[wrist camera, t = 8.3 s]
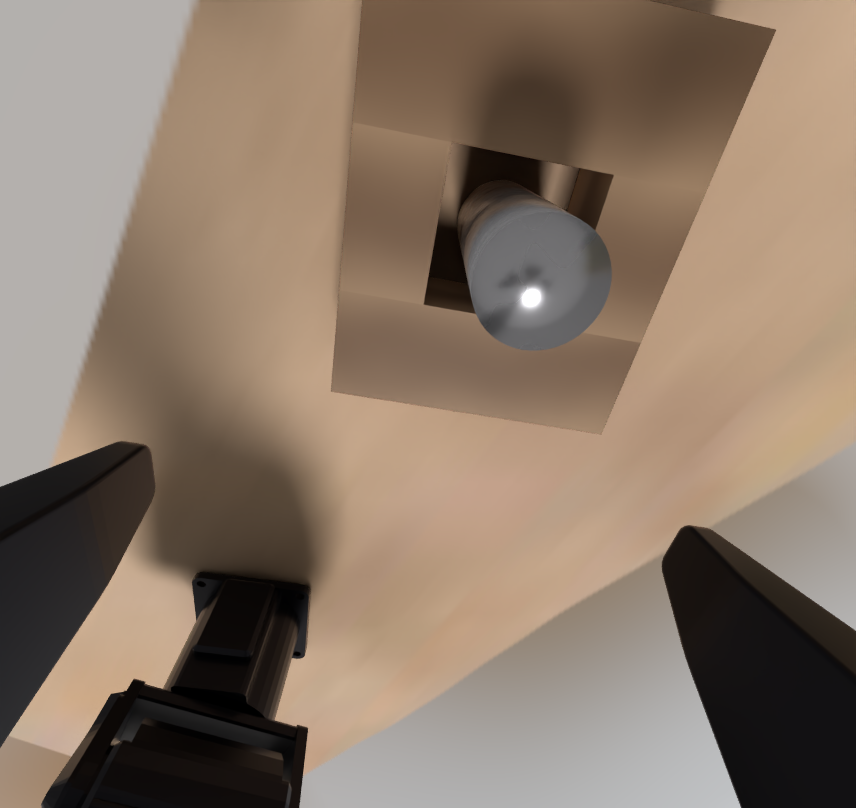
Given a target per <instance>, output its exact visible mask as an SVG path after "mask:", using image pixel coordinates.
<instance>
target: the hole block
mask: <svg viewBox="0 0 856 808" xmlns="http://www.w3.org/2000/svg"><path fill="white" fill-rule="evenodd" d="M775 31H776V30H775V29H770V28H766V27H762V26H757V25H753V24H749V23H744V22H740V21H736V20H731V19H727V18H723V17H718V16H714V15H710V14H705V13H701V12H697V11H692V10H688V9H684V8H679V7H675V6H671V5H666V4H662V3H658V2H653V1H649V0H362V11H361V23H360V36H359V48H358V61H357V73H356V85H355V98H354V110H353V123H352V135H351V148H350V160H349V172H348V185H347V197H346V210H345V222H344V234H343V247H342V259H341V272H340V284H339V297H338V309H337V321H336V334H335V346H334V359H333V371H332V384H331V392H337V393H343V394H349V395H355V396H362V397H368V398H374V399H381V400H387V401H393V402H399V403H406V404H412V405H418V406H424V407H431V408H437V409H443V410H450V411H456V412H462V413H468V414H475V415H481V416H487V417H494V418H500V419H506V420H512V421H519V422H525V423H531V424H537V425H544V426H550V427H556V428H563V429H569V430H575V431H581V432H588V433H594V434H600V435H601V434H602V432H603V429H604V427H605V425H606V422H607V420H608V418H609V415H610V413H611V411H612V408H613V406H614V404H615V402H616V399H617V397H618V395H619V392H620V390H621V388H622V385H623V383H624V381H625V378H626V376H627V374H628V371H629V369H630V367H631V365H632V362H633V360H634V358H635V355H636V353H637V351H638V348H639V346H640V344H641V341H642V339H643V337H644V334H645V332H646V330H647V327H648V325H649V323H650V321H651V318H652V316H653V314H654V311H655V309H656V307H657V304H658V302H659V300H660V297H661V295H662V293H663V290H664V288H665V286H666V284H667V281H668V279H669V277H670V274H671V272H672V270H673V267H674V265H675V263H676V260H677V258H678V256H679V253H680V251H681V249H682V247H683V244H684V242H685V240H686V237H687V235H688V233H689V230H690V228H691V226H692V223H693V221H694V219H695V216H696V214H697V212H698V210H699V207H700V205H701V203H702V200H703V198H704V196H705V193H706V191H707V189H708V186H709V184H710V182H711V179H712V177H713V175H714V172H715V170H716V168H717V166H718V163H719V161H720V159H721V156H722V154H723V152H724V149H725V147H726V145H727V142H728V140H729V138H730V135H731V133H732V131H733V129H734V126H735V124H736V122H737V119H738V117H739V115H740V112H741V110H742V108H743V105H744V103H745V101H746V98H747V96H748V94H749V92H750V89H751V87H752V85H753V82H754V80H755V78H756V75H757V73H758V71H759V68H760V66H761V64H762V61H763V59H764V57H765V55H766V52H767V50H768V48H769V45H770V43H771V41H772V38H773V36H774V34H775ZM452 142H453V143H458V144H463V145H468V146H473V147H478V148H483V149H488V150H493V151H498V152H503V153H508V154H513V155H518V156H523V157H528V158H532V159H537V160H542V161H547V162H552V163H557V164H562V165H567V166H572V167H577V168H580V171H579V174H578V177H577V181H576V184H575V187H574V191H573V194H572V197H571V201H570V204H569V207H568V210H567V212H568V213H570V214H572V215H573V216H575V217H577V218H579V219H580V220H582V221H584V222H585V223H587V224H588V225H589V226H590V227H592V228H593V229H594V230H595V231H596V232H597V234H598V235H599V236H600V237H601V239H602V240H603V242H604V244H605V246H606V248H607V250H608V253H609V256H610V261H611V268H612V280H611V286H610V291H609V294H608V298H607V300H606V302H605V305H604V307H603V309H602V310H601V312H600V314H599V315H598V317H597V318H596V319H595V320H594V322H593V323H592V324H591V325H590V326H589V327H588V328H587V329H586V330H585V331H584V332H583V333H581V334H580V335H579V336H577V337H576V338H574V339H573V340H571V341H569V342H567V343H565V344H563V345H560V346H558V347H555V348H551V349H546V350H539V351H529V350H521V349H516V348H513V347H510V346H508V345H505V344H503V343H502V342H500V341H498V340H497V339H495V338H494V337H493V336H491V335H490V334H489V333H488V332H487V331H486V329H485V328H484V327H483V326H482V324H481V323H480V321H479V319H478V317H477V315H476V313H475V310H474V307H473V303H472V299H471V294H470V289H469V285H468V284H466V283H460V282H455V281H449V280H443V279H438V278H432V277H428V275H429V270H430V264H431V258H432V253H433V247H434V241H435V235H436V230H437V224H438V218H439V213H440V207H441V201H442V195H443V190H444V184H445V178H446V172H447V167H448V161H449V155H450V150H451V144H452Z"/></svg>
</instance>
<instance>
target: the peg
mask: <svg viewBox="0 0 856 808" xmlns="http://www.w3.org/2000/svg"><path fill="white" fill-rule="evenodd" d="M457 233H458V238H459V243H460V248H461V252H462V257H463V262H464V266H465V271H466V275H467V280H468V285H469V289H470V294H471V299H472V303H473V307H474V310H475V313H476V315H477V317H478V319H479V321H480V323H481V324H482V326H483V327H484V328H485V329H486V331H487V332H488V333H489V334H490V335H491V336H493V337H494V338H495V339H497V340H498V341H500V342H502V343H503V344H505V345H508V346H510V347H513V348H516V349H521V350H529V351H539V350H546V349H551V348H555V347H558V346H560V345H563V344H565V343H567V342H569V341H571V340H573V339H574V338H576V337H577V336H579V335H580V334H581V333H583V332H584V331H585V330H586V329H587V328H588V327H589V326H590V325H591V324H592V323H593V322H594V320H595V319H596V318H597V317H598V315H599V314H600V312H601V310H602V309H603V307H604V305H605V302H606V300H607V298H608V294H609V291H610V286H611V280H612V268H611V261H610V256H609V253H608V250H607V248H606V246H605V244H604V242H603V240H602V239H601V237H600V236H599V235H598V234H597V232H596V231H595V230H594V229H593V228H592V227H590V226H589V225H588V224H587V223H585V222H584V221H582V220H580V219H579V218H577V217H575V216H573V215H572V214H570V213H568V212H567V211H565V210H563V209H561V208H560V207H558V206H556V205H554V204H553V203H551V202H549V201H547V200H546V199H544V198H542V197H540V196H539V195H537V194H535V193H533V192H532V191H530V190H528V189H526V188H525V187H523V186H521V185H519V184H517V183H515V182H512V181H508V180H495V181H491V182H487V183H485V184H483V185H481V186H479V187H478V188H476V189H475V190H474V191H473V192H472V193H471V194H470V195H469V196H468V197H467V198H466V200H465V201H464V203H463V205H462V207H461V209H460V212H459V215H458V220H457Z"/></svg>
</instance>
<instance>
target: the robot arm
mask: <svg viewBox="0 0 856 808" xmlns="http://www.w3.org/2000/svg"><path fill="white" fill-rule="evenodd" d="M154 493H155V478H154V471H153V463H152V455H151V451H150V449H149V447H148V446H146V445H144V444H138V443H132V442H124V441H120V442H116V443H113V444H111V445H108V446H105V447H103V448H100V449H98V450H95V451H92V452H90V453H87V454H85V455H82V456H79V457H77V458H74V459H72V460H69V461H66V462H64V463H61V464H59V465H56V466H53V467H51V468H48V469H46V470H43V471H41V472H38V473H36V474H33V475H30V476H27V477H25V478H22V479H20V480H17V481H14V482H12V483H9V484H7V485H4V486H1V487H0V747H1V746H2V744H3V743H4V741H5V740H6V738H7V737H8V735H9V734H10V732H11V731H12V729H13V728H14V726H15V725H16V723H17V722H18V720H19V719H20V717H21V716H22V714H23V713H24V711H25V710H26V708H27V707H28V705H29V703H30V702H31V700H32V699H33V697H34V696H35V694H36V693H37V691H38V690H39V688H40V687H41V685H42V684H43V682H44V681H45V679H46V678H47V676H48V675H49V673H50V672H51V670H52V669H53V667H54V666H55V664H56V663H57V661H58V660H59V658H60V657H61V655H62V654H63V652H64V651H65V649H66V648H67V646H68V645H69V643H70V642H71V640H72V639H73V637H74V636H75V634H76V633H77V631H78V630H79V628H80V627H81V625H82V624H83V622H84V621H85V619H86V618H87V616H88V615H89V613H90V612H91V610H92V609H93V607H94V606H95V604H96V602H97V601H98V599H99V598H100V596H101V595H102V593H103V591H104V590H105V588H106V587H107V585H108V583H109V581H110V580H111V578H112V576H113V574H114V573H115V571H116V569H117V567H118V565H119V563H120V561H121V559H122V557H123V555H124V553H125V551H126V550H127V548H128V546H129V544H130V542H131V540H132V538H133V536H134V534H135V532H136V530H137V528H138V526H139V524H140V523H141V521H142V519H143V517H144V515H145V513H146V511H147V509H148V507H149V505H150V503H151V501H152V499H153V496H154ZM662 573H663V577H664V580H665V584H666V588H667V591H668V595H669V599H670V603H671V607H672V610H673V614H674V617H675V621H676V625H677V629H678V633H679V636H680V640H681V644H682V647H683V650H684V654H685V657H686V660H687V663H688V666H689V669H690V672H691V675H692V677H693V680H694V683H695V685H696V688H697V691H698V693H699V696H700V699H701V701H702V704H703V707H704V709H705V712H706V715H707V717H708V720H709V723H710V725H711V728H712V731H713V733H714V736H715V739H716V742H717V744H718V747H719V750H720V752H721V755H722V758H723V760H724V763H725V766H726V768H727V771H728V774H729V777H730V779H731V782H732V785H733V787H734V790H735V793H736V795H737V798H738V801H739V803H740V806H741V808H856V631H855V630H854V629H852V628H851V627H850V626H848V625H847V624H845V623H844V622H842V621H841V620H840V619H838V618H837V617H835V616H834V615H832V614H831V613H830V612H828V611H827V610H825V609H824V608H823V607H821V606H820V605H818V604H817V603H815V602H814V601H812V600H811V599H810V598H808V597H807V596H805V595H804V594H803V593H801V592H800V591H798V590H797V589H795V588H794V587H792V586H791V585H790V584H788V583H787V582H785V581H784V580H782V579H781V578H780V577H778V576H777V575H775V574H774V573H773V572H771V571H770V570H768V569H767V568H765V567H764V566H763V565H761V564H760V563H758V562H757V561H755V560H754V559H752V558H751V557H750V556H748V555H747V554H746V553H744V552H743V551H741V550H740V549H738V548H737V547H735V546H734V545H733V544H731V543H730V542H728V541H727V540H725V539H724V538H723V537H721V536H720V535H718V534H717V533H716V532H714V531H713V530H711V529H708V528H704V527H697V526H691V525H687V526H684V527H682V528H681V529H680V530H679V532H678V533H677V535H676V537H675V538H674V540H673V542H672V543H671V545H670V547H669V548H668V550H667V552H666V554H665V555H664V557H663V561H662ZM192 586H193V595H194V604H195V612H196V623H195V625H194V627H193V629H192V631H191V633H190V635H189V637H188V639H187V641H186V643H185V645H184V647H183V649H182V651H181V653H180V655H179V657H178V659H177V661H176V663H175V665H174V667H173V669H172V671H171V673H170V675H169V677H168V679H167V682H166V684H165V686H164V688H163V689H161V688H157V687H154V686H150V685H147V684H145V681H141V680H137V679H133V681H132V683H131V684H130V686H129V688H128V689H127V691H124V692H120V693H114V694H111V695H110V696H109V698H108V700H107V702H106V703H105V705H104V707H103V708H102V710H101V712H100V714H99V715H98V717H97V719H96V720H95V722H94V724H93V725H92V727H91V729H90V730H89V732H88V733H87V735H86V736H85V738H84V739H83V741H82V742H81V744H80V745H79V747H78V748H77V750H76V751H75V753H74V754H73V755H72V757H71V758H70V760H69V762H68V763H67V764H66V766H65V767H64V769H63V770H62V771H61V773H60V774H59V776H58V777H57V779H56V780H55V782H54V783H53V784H52V786H51V788H50V789H49V791H48V792H47V794H46V796H45V798H44V800H43V802H42V804H41V806H42V808H299V803H300V795H301V786H302V778H303V769H304V760H305V751H306V742H307V733H308V728H307V727H304V726H300V725H297V726H292V725H289V724H285V723H282V722H278V721H274V720H275V717H276V713H277V709H278V706H279V702H280V699H281V695H282V691H283V688H284V684H285V681H286V677H287V673H288V670H289V666H290V663H291V659H292V658H296V659H300V658H303V657H304V656H305V652H306V648H307V634H308V621H309V607H310V594H311V591H310V589H309V588H308V587H307V586H304V585H298V584H291V583H283V582H275V581H267V580H260V579H252V578H244V577H236V576H229V575H221V574H213V573H205V572H200V573H197V574H196V575H195V577H194V579H193V581H192ZM119 741H120V742H119Z"/></svg>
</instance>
